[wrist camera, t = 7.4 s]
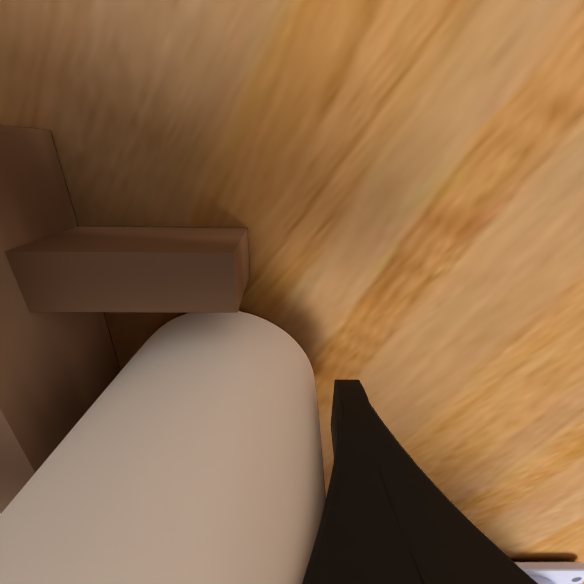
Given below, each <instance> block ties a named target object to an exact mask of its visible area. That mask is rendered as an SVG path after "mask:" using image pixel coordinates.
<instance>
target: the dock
mask: <svg viewBox="0 0 584 584" xmlns="http://www.w3.org/2000/svg"><path fill="white" fill-rule="evenodd" d="M249 276H250V265H249V246H248V228H214V227H99V226H78V225H77V221H76V218H75V214H74V211H73V207H72V204H71V201H70V197H69V194H68V190H67V187H66V183H65V180H64V177H63V173H62V170H61V166H60V163H59V160H58V156H57V153H56V149H55V146H54V142H53V139H52V136H51V132H50V130H43V129H33V128H23V127H13V126H3V125H0V513H2V512H3V511H4V510H5V508H6V507H7V506H8V505H9V504H10V502H11V501H12V500H13V499H14V498H15V497H16V495H17V494H18V493H19V492H20V491H21V489H22V488H23V487H24V486H25V485H26V483H27V482H28V481H29V480H30V479H31V477H32V476H33V475H34V474H35V473H36V471H37V470H38V469H39V468H40V467H41V465H42V464H43V463H44V462H45V461H46V459H47V458H48V457H49V456H50V455H51V454H52V452H53V451H54V450H55V449H56V448H57V446H58V445H59V444H60V443H61V442H62V440H63V439H64V438H65V437H66V436H67V434H68V433H69V432H70V431H71V430H72V428H73V427H74V426H75V425H76V424H77V422H78V421H79V420H80V419H81V418H82V417H83V415H84V414H85V413H86V412H87V411H88V409H89V408H90V407H91V406H92V405H93V403H94V402H95V401H96V400H97V399H98V397H99V396H100V395H101V394H102V393H103V392H104V390H105V389H106V388H107V387H108V386H109V384H110V383H111V382H112V381H113V380H114V378H115V377H116V376H117V375H118V374H119V373H120V368H119V365H118V361H117V358H116V355H115V351H114V348H113V344H112V341H111V337H110V334H109V331H108V327H107V324H106V320H105V317H104V314H103V312H186V313H238V310H239V307H240V304H241V301H242V298H243V295H244V292H245V289H246V286H247V282H248V279H249Z"/></svg>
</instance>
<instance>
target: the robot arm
mask: <svg viewBox="0 0 584 584" xmlns="http://www.w3.org/2000/svg"><path fill="white" fill-rule="evenodd" d="M331 433H332V443H333V452H334V465H333V470H332V475H331V480H330V484H329V489H328V493H327V498H326V502H325V506H324V510H323V513H322V517H321V521H320V525H319V529H318V532H317V536H316V540H315V543H314V546H313V550H312V553H311V556H310V560H309V563H308V566H307V569H306V573H305V576H304V579H303V582H302V584H581V583H582V582H583V581H584V564H583V563H581V562H513V561H512V560H511V559H510V558H509V557H508V556H507V555H506V554H504V553H503V552H502V551H501V550H500V549H499V548H498V547H497V546H496V545H495V544H494V543H493V542H492V541H490V540H489V539H488V538H487V537H486V536H485V535H484V534H483V533H482V532H481V531H480V530H479V529H478V528H476V527H475V526H474V525H473V524H472V523H471V522H470V521H469V520H468V519H467V518H466V517H465V516H464V515H463V514H462V513H461V512H460V511H459V510H458V509H457V508H456V507H455V506H454V505H453V504H452V503H451V502H450V501H449V500H448V499H447V497H446V496H445V495H444V494H443V493H442V492H441V491H440V490H439V489H438V488H437V487H436V486H435V485H434V484H433V483H432V481H431V480H430V479H429V478H428V477H427V476H426V475H425V474H424V472H423V471H422V470H421V469H420V468H419V467H418V466H417V464H416V463H415V462H414V461H413V460H412V458H411V457H410V456H409V455H408V454H407V452H406V451H405V450H404V449H403V447H402V446H401V445H400V444H399V442H398V441H397V440H396V439H395V437H394V436H393V435H392V433H391V432H390V431H389V429H388V428H387V427H386V425H385V424H384V423H383V421H382V420H381V419H380V417H379V416H378V414H377V413H376V412H375V410H374V409H373V407H372V406H371V404H370V403H369V400H368V397H367V395H366V393H365V390H364V388H363V386H362V385H361V383H360V381H359V380H335V384H334V395H333V405H332V416H331Z"/></svg>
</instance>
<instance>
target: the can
mask: <svg viewBox="0 0 584 584" xmlns="http://www.w3.org/2000/svg"><path fill="white" fill-rule="evenodd" d="M325 502H326V495H325V483H324V471H323V459H322V448H321V436H320V425H319V413H318V403H317V392H316V384H315V377H314V373H313V369H312V366H311V364H310V361H309V359H308V357H307V356H306V354H305V352H304V351H303V349H302V348H301V347H300V346H299V344H298V343H297V342H296V341H295V340H294V339H293V338H292V337H291V336H290V335H289V334H287V333H286V332H285V331H284V330H282V329H281V328H279V327H278V326H276V325H275V324H273V323H271V322H269V321H267V320H265V319H263V318H260V317H258V316H255V315H252V314H249V313H245V312H240V311H238V313H187V314H184V315H181V316H179V317H177V318H175V319H173V320H171V321H169V322H167V323H166V324H164V325H163V326H162V327H160V328H159V329H158V330H157V331H156V332H155V333H154V334H153V335H152V336H151V337H150V338H149V339H148V340H147V341H146V342H145V343H144V344H143V346H142V347H141V348H140V349H139V350H138V351H137V353H136V354H135V355H134V356H133V357H132V358H131V360H130V361H129V362H128V363H127V364H126V365H125V367H124V368H123V369H122V370H121V371H120V373H119V374H118V375H117V376H116V377H115V378H114V380H113V381H112V382H111V383H110V384H109V386H108V387H107V388H106V389H105V390H104V392H103V393H102V394H101V395H100V396H99V397H98V399H97V400H96V401H95V402H94V403H93V405H92V406H91V407H90V408H89V409H88V411H87V412H86V413H85V414H84V415H83V417H82V418H81V419H80V420H79V421H78V422H77V424H76V425H75V426H74V427H73V428H72V430H71V431H70V432H69V433H68V434H67V436H66V437H65V438H64V439H63V440H62V442H61V443H60V444H59V445H58V446H57V448H56V449H55V450H54V451H53V452H52V454H51V455H50V456H49V457H48V458H47V459H46V461H45V462H44V463H43V464H42V465H41V467H40V468H39V469H38V470H37V471H36V473H35V474H34V475H33V476H32V477H31V479H30V480H29V481H28V482H27V483H26V485H25V486H24V487H23V488H22V489H21V491H20V492H19V493H18V494H17V495H16V497H15V498H14V499H13V500H12V501H11V502H10V504H9V505H8V506H7V507H6V508H5V510H4V511H3V512H2V513H1V514H0V584H302V582H303V579H304V576H305V573H306V569H307V566H308V563H309V560H310V556H311V553H312V550H313V546H314V543H315V540H316V536H317V532H318V529H319V525H320V521H321V517H322V513H323V510H324V506H325Z"/></svg>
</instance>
